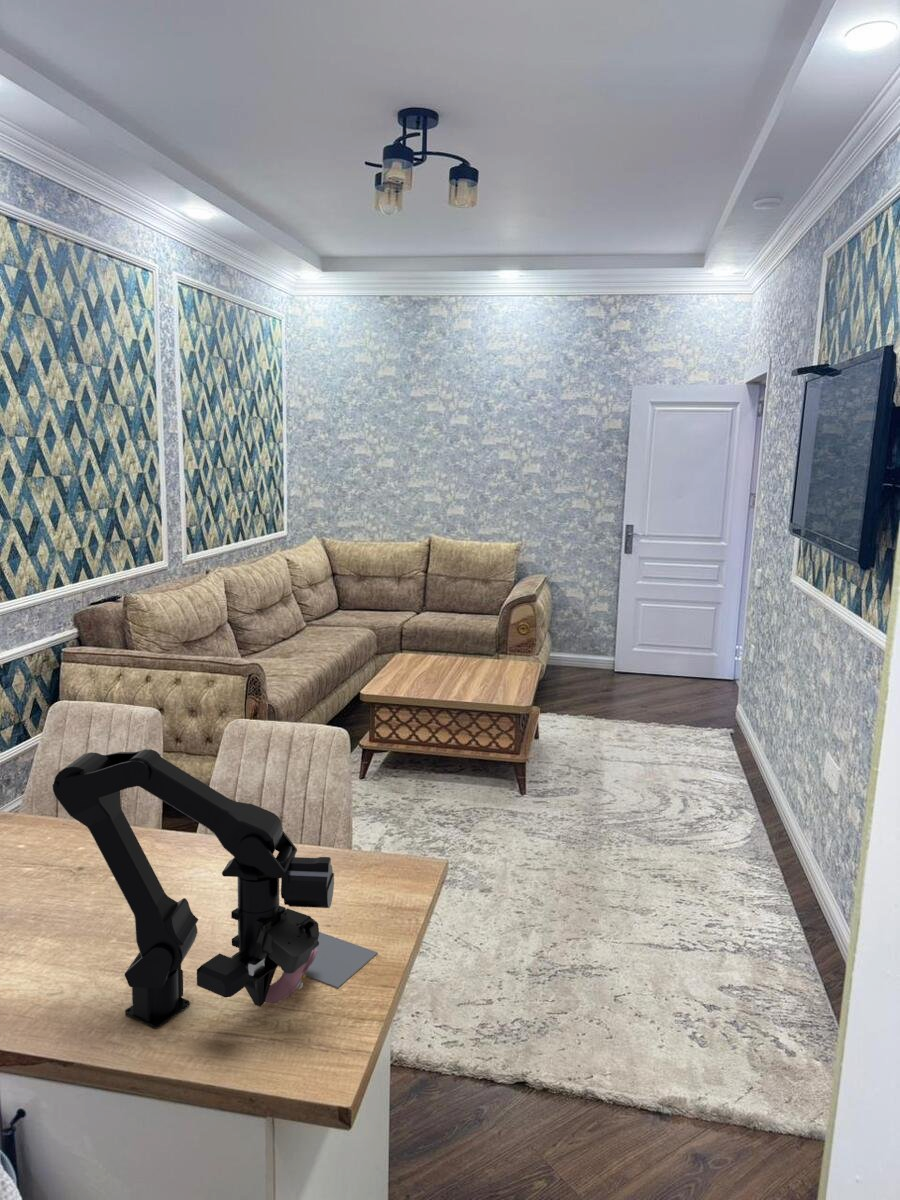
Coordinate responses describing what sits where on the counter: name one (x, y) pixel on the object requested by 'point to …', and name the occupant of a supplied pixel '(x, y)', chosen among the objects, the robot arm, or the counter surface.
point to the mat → (337, 960)
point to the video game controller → (288, 982)
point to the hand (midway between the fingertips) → (259, 1004)
